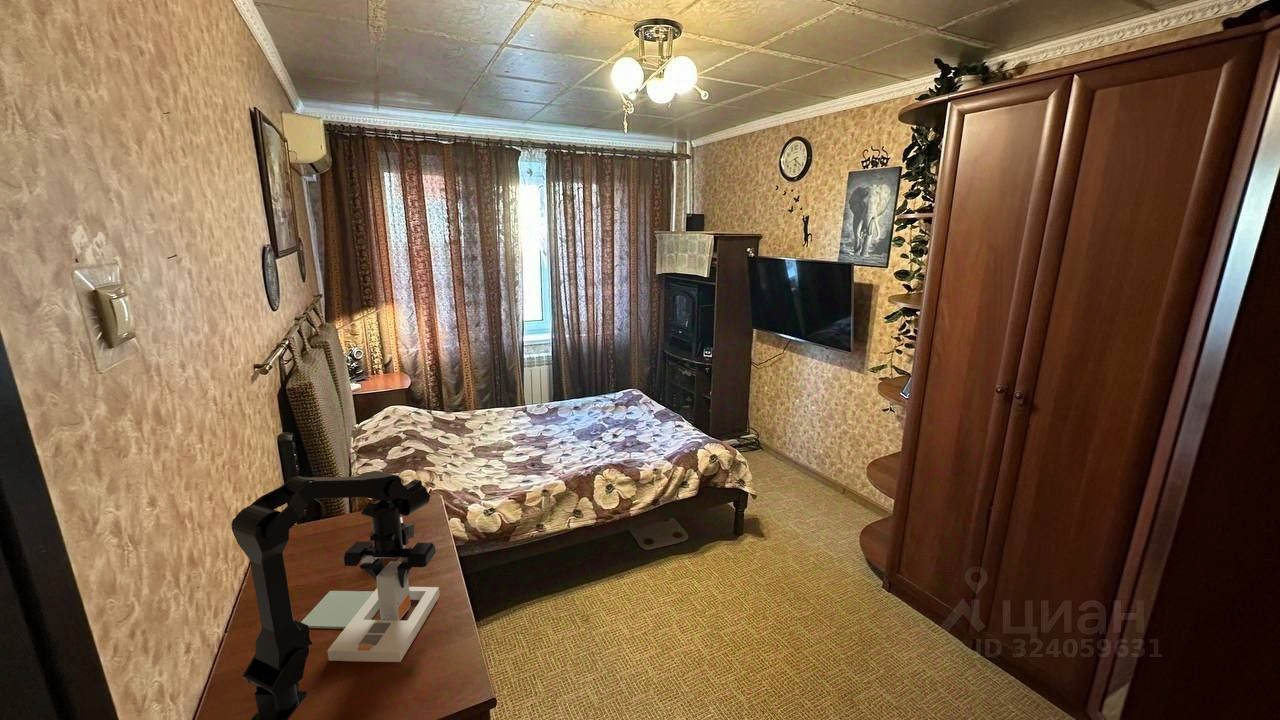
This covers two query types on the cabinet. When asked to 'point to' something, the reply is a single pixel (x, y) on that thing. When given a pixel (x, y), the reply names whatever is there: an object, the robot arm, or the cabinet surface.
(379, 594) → the skincare box
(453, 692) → the cabinet surface
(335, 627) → the mat
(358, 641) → the cream rectangular frame
